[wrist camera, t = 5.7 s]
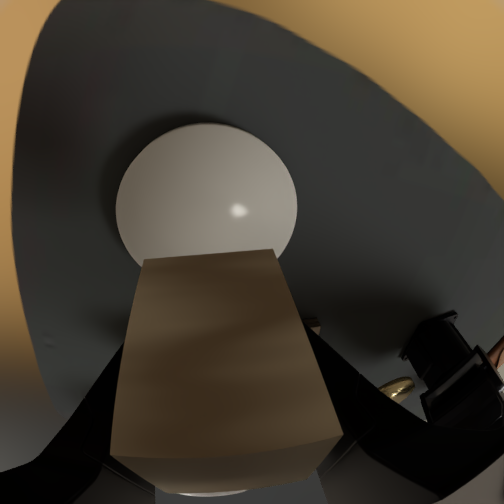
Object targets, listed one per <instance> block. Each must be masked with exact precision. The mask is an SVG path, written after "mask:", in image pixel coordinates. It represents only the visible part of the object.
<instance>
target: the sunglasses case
mask: <svg viewBox="0 0 504 504" xmlns="http://www.w3.org/2000/svg"><path fill="white" fill-rule="evenodd" d="M487 355H488V357H489V358H490V359H491V361H492V362H493V364H494V365H495V367H496V369H498V368H499V367H500V366H501V365H502V364H503V363H504V336H503V337H502V339H501V340H500V341H499V342H498V343H497V344H496V345H495V346H494V347H493V348H492V349H491V350H490V351H489V352H488V353H487ZM481 361H482V360H481ZM482 363H483V361H482Z"/></svg>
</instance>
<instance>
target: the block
mask: <svg viewBox="0 0 504 504" xmlns="http://www.w3.org/2000/svg"><path fill="white" fill-rule="evenodd" d="M342 436H343V432H342V429H341V426H340V423H339V421H338V418H337V415H336V412H335V410H334V407H333V404H332V401H331V399H330V396H329V393H328V390H327V388H326V385H325V382H324V380H323V377H322V374H321V371H320V369H319V366H318V363H317V361H316V358H315V355H314V353H313V350H312V347H311V345H310V342H309V340H308V337H307V334H306V332H305V329H304V326H303V324H302V321H301V319H300V316H299V313H298V311H297V308H296V306H295V303H294V301H293V298H292V295H291V293H290V290H289V288H288V285H287V283H286V280H285V278H284V275H283V273H282V270H281V268H280V265H279V262H278V260H277V257H276V255H275V252H274V250H273V249H262V250H249V251H237V252H225V253H213V254H201V255H188V256H176V257H164V258H152V259H144V261H143V265H142V269H141V272H140V276H139V280H138V284H137V288H136V292H135V296H134V301H133V305H132V309H131V314H130V318H129V323H128V328H127V333H126V338H125V343H124V348H123V354H122V360H121V365H120V372H119V378H118V384H117V391H116V399H115V407H114V415H113V424H112V435H111V447H110V455H111V456H112V457H114V458H115V459H116V460H118V461H119V462H120V463H122V464H123V465H124V466H126V467H127V468H129V469H130V470H132V471H133V472H134V473H136V474H137V475H139V476H140V477H142V478H143V479H145V480H146V481H148V482H150V483H151V484H153V485H154V486H156V487H158V488H159V489H161V490H163V491H164V492H166V493H214V492H229V491H240V490H248V489H256V488H264V487H270V486H276V485H282V484H287V483H292V482H297V481H301V480H306V479H307V478H308V477H309V476H310V475H311V474H312V472H313V471H314V470H315V469H316V468H317V467H318V466H319V465H320V463H321V462H322V461H323V460H324V459H325V457H326V456H327V455H328V454H329V452H330V451H331V450H332V449H333V447H334V446H335V445H336V444H337V442H338V441H339V440H340V438H341V437H342Z"/></svg>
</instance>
